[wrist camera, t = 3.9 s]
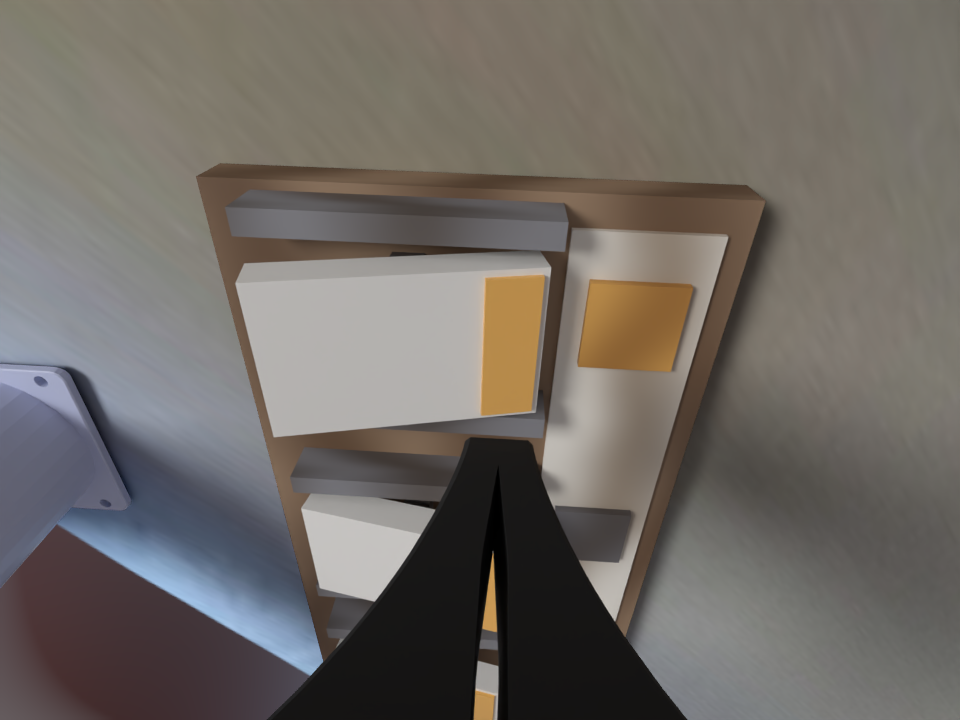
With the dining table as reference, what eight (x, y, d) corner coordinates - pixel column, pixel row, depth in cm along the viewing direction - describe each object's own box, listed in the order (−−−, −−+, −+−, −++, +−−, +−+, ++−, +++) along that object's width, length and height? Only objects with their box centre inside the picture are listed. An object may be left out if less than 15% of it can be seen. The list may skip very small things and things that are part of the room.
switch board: (334, 647, 32) (318, 704, 30) (220, 163, 17) (165, 193, 14) (603, 667, 32) (610, 726, 29) (746, 185, 16) (790, 220, 13)
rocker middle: (332, 564, 24) (318, 591, 23) (316, 485, 21) (298, 511, 20) (510, 606, 22) (504, 637, 21) (518, 526, 20) (511, 557, 18)
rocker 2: (356, 678, 29) (345, 704, 28) (345, 627, 27) (333, 653, 25) (499, 717, 28) (494, 746, 27) (504, 667, 25) (498, 697, 24)
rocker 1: (278, 411, 17) (272, 440, 16) (244, 263, 14) (234, 285, 13) (526, 389, 18) (537, 415, 17) (539, 249, 15) (553, 269, 14)
